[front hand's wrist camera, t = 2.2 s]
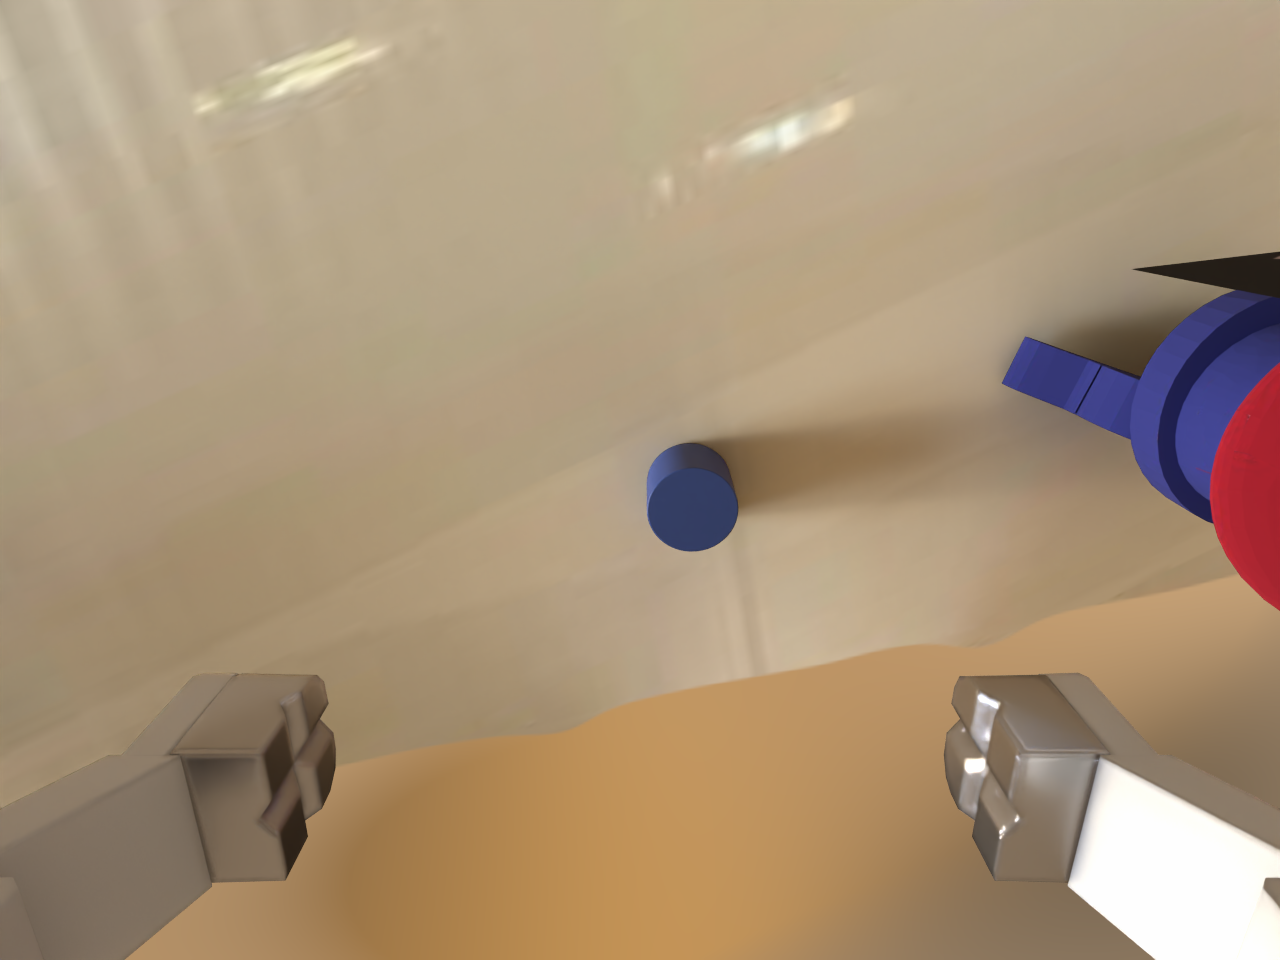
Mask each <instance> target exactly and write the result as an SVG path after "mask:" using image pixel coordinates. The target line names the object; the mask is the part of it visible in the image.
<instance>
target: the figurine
mask: <svg viewBox="0 0 1280 960" xmlns="http://www.w3.org/2000/svg"><path fill="white" fill-rule="evenodd" d="M1133 270H1138V271H1143V272H1148V273H1153V274H1158V275H1163V276H1168V277H1174V278H1179V279H1184V280H1189V281H1194V282H1199V283H1204V284H1209V285H1214V286H1219V287H1224V288H1230V289H1235V291H1232V292H1230V293H1227V294H1224V295H1222V296H1220V297H1218V298H1216V299H1214V300H1213V301H1211V302H1209V303H1207V304H1205V305H1203V306H1202V307H1201V308H1199V309H1198V310H1196V311H1195V312H1194V313H1192V314H1191V315H1190V316H1188V317H1187V318H1185V319H1184V320H1183V321H1182V322H1181V323H1180V324H1179V325H1178V326H1177V327H1176V328H1175V329H1174V330H1173V331H1172V332H1171V333H1170V334H1169V335H1168V336H1167V337H1166V339H1165V340H1164V341H1163V342H1162V343H1161V345H1160V346H1159V347H1158V348H1157V350H1156V351H1155V353H1154V354H1153V356H1152V358H1151V359H1150V361H1149V362H1148V364H1147V365H1146V368H1145V370H1144V372H1143V374H1142V376H1141V377H1140V376H1137V375H1134V374H1131V373H1129V372H1126V371H1123V370H1120V369H1117V368H1114V367H1111V366H1108V365H1105V364H1103V363H1100V362H1097V361H1094V360H1091V359H1088V358H1085V357H1083V356H1080V355H1077V354H1074V353H1071V352H1068V351H1065V350H1063V349H1060V348H1057V347H1054V346H1051V345H1048V344H1046V343H1043V342H1040V341H1037V340H1034V339H1031V338H1028V337H1025V338H1024V340H1023V342H1022V344H1021V346H1020V348H1019V350H1018V352H1017V354H1016V356H1015V358H1014V360H1013V362H1012V364H1011V366H1010V368H1009V370H1008V372H1007V374H1006V376H1005V378H1004V380H1003V382H1002V384H1004V385H1006V386H1008V387H1010V388H1013V389H1015V390H1017V391H1020V392H1022V393H1025V394H1027V395H1030V396H1032V397H1035V398H1037V399H1040V400H1042V401H1045V402H1048V403H1050V404H1053V405H1055V406H1058V407H1060V408H1063V409H1065V410H1067V411H1069V412H1071V413H1073V414H1076V415H1078V416H1080V417H1082V418H1084V419H1086V420H1088V421H1090V422H1092V423H1094V424H1096V425H1098V426H1100V427H1102V428H1105V429H1107V430H1109V431H1111V432H1114V433H1116V434H1119V435H1121V436H1123V437H1126V438H1128V439H1131V444H1132V448H1133V451H1134V455H1135V458H1136V461H1137V463H1138V465H1139V467H1140V469H1141V471H1142V473H1143V474H1144V476H1145V477H1146V478H1147V479H1148V481H1149V482H1150V483H1151V485H1152V486H1153V487H1155V488H1156V489H1157V490H1158V491H1159V492H1161V493H1162V494H1163V495H1164V496H1165V497H1167V498H1168V499H1170V500H1172V501H1173V502H1175V503H1176V504H1178V505H1180V506H1181V507H1183V508H1185V509H1186V510H1188V511H1190V512H1191V513H1193V514H1195V515H1196V516H1198V517H1200V518H1202V519H1204V520H1205V521H1207V522H1210V523H1214V526H1215V529H1216V533H1217V536H1218V539H1219V541H1220V543H1221V545H1222V547H1223V549H1224V551H1225V553H1226V556H1227V557H1228V559H1229V560H1230V561H1231V563H1232V564H1233V566H1234V567H1235V569H1236V570H1237V572H1238V573H1239V575H1240V576H1241V577H1242V578H1243V579H1244V580H1245V581H1246V582H1247V583H1248V584H1249V585H1250V586H1251V587H1252V588H1253V589H1254V590H1255V591H1256V592H1257V593H1258V594H1259V595H1260V596H1261V597H1262V598H1263V599H1264V600H1265V601H1267V602H1268V603H1270V604H1271V605H1272V606H1274V607H1275V608H1277V609H1278V610H1279V611H1280V252H1273V253H1265V254H1256V255H1248V256H1240V257H1231V258H1223V259H1214V260H1206V261H1197V262H1189V263H1180V264H1172V265H1163V266H1155V267H1146V268H1138V269H1133Z"/></svg>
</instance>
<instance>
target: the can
mask: <svg viewBox="0 0 1280 960" xmlns="http://www.w3.org/2000/svg"><path fill="white" fill-rule="evenodd" d="M647 516H648V521H649V524H650V526H651V528H652V530H653V532H654V533H655V534H656V536H657V537H658V538H659V539H660V540H661V541H663V542H664V543H665V544H667V545H669V546H671V547H673V548H675V549H678V550H683V551H701V550H705V549H709V548H711V547H713V546H715V545H717V544H719V543H720V542H721V541H723V540H724V539H725V538H726V537H727V536H728V535H729V533H730V532H731V531H732V529H733V527H734V525H735V523H736V520H737V516H738V501H737V497H736V494H735V490H734V486H733V483H732V479H731V476H730V472H729V469H728V467H727V464H726V463H725V461H724V460H723V459H722V457H721V456H720V455H719V454H718V453H716V452H715V451H714V450H712V449H710V448H708V447H706V446H703V445H699V444H693V443H687V444H680V445H676V446H673V447H671V448H669V449H667V450H665V451H664V452H663V453H661V454H660V455H659V456H658V457H657V458H656V460H655V461H654V462H653V464H652V466H651V467H650V470H649V473H648V477H647Z"/></svg>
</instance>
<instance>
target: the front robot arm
mask: <svg viewBox="0 0 1280 960" xmlns="http://www.w3.org/2000/svg"><path fill="white" fill-rule="evenodd" d="M328 704H329V703H328V699H327V694H326V689H325V684H324V681H323V680H322V679H321V678H320V677H319V676H318V675H289V674H236V673H203V674H200V675H196V676H193V677H192V678H191V679H190V680H189V681H188V682H187V683H186V684H185V685H184V687H183V688H182V689H181V690H180V691H179V692H178V693H177V694H176V695H175V696H174V698H173V699H172V700H171V701H170V702H169V703H168V704H167V705H166V706H165V708H164V709H163V710H162V711H161V712H160V713H159V714H158V715H157V716H156V717H155V719H154V720H153V721H152V722H151V723H150V724H149V725H148V726H147V727H146V729H145V730H144V731H143V732H142V733H141V734H140V735H139V736H138V737H137V738H136V740H135V741H134V742H133V743H132V744H131V745H130V746H129V747H128V748H127V750H126V751H125V752H124V753H123V754H122V755H108V756H106V757H104V758H102V759H100V760H98V761H96V762H94V763H92V764H90V765H88V766H86V767H84V768H81V769H79V770H77V771H75V772H73V773H71V774H69V775H67V776H65V777H63V778H61V779H59V780H57V781H55V782H53V783H51V784H49V785H47V786H45V787H43V788H41V789H39V790H37V791H35V792H33V793H31V794H29V795H27V796H25V797H23V798H21V799H19V800H17V801H15V802H13V803H11V804H9V805H7V806H5V807H3V808H1V809H0V960H125V959H126V958H127V957H128V956H129V955H131V954H132V953H133V952H134V951H135V950H137V949H138V948H139V947H140V946H141V945H143V944H144V943H145V942H146V941H147V940H149V939H150V938H151V937H152V936H153V935H155V934H156V933H157V932H158V931H159V930H161V929H162V928H163V927H164V926H165V925H166V924H168V923H169V922H170V921H171V920H172V919H174V918H175V917H176V916H177V915H179V914H180V913H181V912H182V911H183V910H185V909H186V908H187V907H188V906H189V905H190V904H192V903H193V902H194V901H195V900H196V899H198V898H199V897H200V896H201V895H202V894H204V893H205V892H206V891H207V890H208V889H210V888H211V887H212V883H215V882H249V881H283V880H286V878H287V876H288V874H289V872H290V870H291V868H292V867H293V865H294V863H295V861H296V859H297V857H298V855H299V853H300V851H301V849H302V847H303V845H304V843H305V841H306V839H307V837H308V835H307V829H306V823H305V820H306V819H308V818H309V817H311V816H312V815H314V814H315V813H316V812H318V811H319V810H321V809H322V807H323V805H324V803H325V801H326V799H327V797H328V795H329V792H330V790H331V785H332V781H333V776H334V772H335V763H336V748H335V741H334V734H333V732H332V731H331V730H330V729H329V728H328V727H327V726H326V725H325V724H324V723H323V722H322V721H321V720H320V717H321V716H322V714H323V712H324V711H325V709H326V707H327V705H328ZM952 705H953V707H954V709H955V710H956V712H957V714H958V716H959V717H960V720H959V721H958V722H957V723H956V724H955V725H954V726H953V727H952V728H951V729H950V730H949V731H948V732H947V735H946V743H945V751H944V761H945V772H946V779H947V782H948V785H949V789H950V792H951V795H952V797H953V799H954V801H955V803H956V805H957V807H958V809H959V810H961V811H962V812H964V813H965V814H966V815H968V816H969V817H971V818H972V819H974V820H975V823H974V829H973V835H972V837H973V839H974V841H975V843H976V845H977V847H978V849H979V851H980V853H981V855H982V857H983V859H984V860H985V862H986V864H987V866H988V868H989V870H990V872H991V874H992V876H993V878H994V880H995V881H1029V882H1065V883H1068V887H1070V888H1071V889H1072V890H1073V891H1074V892H1075V893H1077V894H1078V895H1079V896H1080V897H1081V898H1083V899H1084V900H1085V901H1086V902H1087V903H1089V904H1090V905H1091V906H1092V907H1093V908H1095V909H1096V910H1097V911H1098V912H1099V913H1101V914H1102V915H1103V916H1104V917H1105V918H1107V919H1108V920H1109V921H1110V922H1111V923H1113V924H1114V925H1115V926H1116V927H1117V928H1119V929H1120V930H1121V931H1122V932H1123V933H1125V934H1126V935H1127V936H1128V937H1129V938H1131V939H1132V940H1133V941H1134V942H1135V943H1137V944H1138V945H1139V946H1140V947H1141V948H1142V949H1144V950H1145V951H1146V952H1147V953H1148V954H1150V955H1151V956H1152V957H1153V958H1154V959H1156V960H1280V809H1279V808H1277V807H1275V806H1273V805H1271V804H1269V803H1267V802H1265V801H1263V800H1261V799H1259V798H1257V797H1255V796H1253V795H1251V794H1249V793H1247V792H1245V791H1243V790H1241V789H1239V788H1237V787H1235V786H1233V785H1231V784H1229V783H1227V782H1225V781H1223V780H1221V779H1219V778H1217V777H1215V776H1213V775H1211V774H1209V773H1206V772H1204V771H1202V770H1200V769H1198V768H1196V767H1194V766H1192V765H1190V764H1188V763H1186V762H1184V761H1182V760H1180V759H1178V758H1176V757H1174V756H1172V755H1158V754H1157V753H1156V752H1155V751H1154V750H1153V748H1152V747H1151V746H1150V745H1149V744H1148V743H1147V742H1146V741H1145V740H1144V738H1143V737H1142V736H1141V735H1140V734H1139V733H1138V732H1137V731H1136V730H1135V729H1134V727H1133V726H1132V725H1131V724H1130V723H1129V722H1128V721H1127V720H1126V719H1125V717H1124V716H1123V715H1122V714H1121V713H1120V712H1119V711H1118V710H1117V709H1116V707H1115V706H1114V705H1113V704H1112V703H1111V702H1110V701H1109V700H1108V699H1107V698H1106V696H1105V695H1104V694H1103V693H1102V692H1101V691H1100V690H1099V689H1098V688H1097V686H1096V685H1095V684H1094V683H1093V682H1092V681H1091V680H1090V679H1089V678H1088V677H1086V676H1084V675H1082V674H1080V673H1058V674H1039V675H1001V676H960V677H959V679H958V681H957V683H956V685H955V687H954V692H953V698H952Z"/></svg>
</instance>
